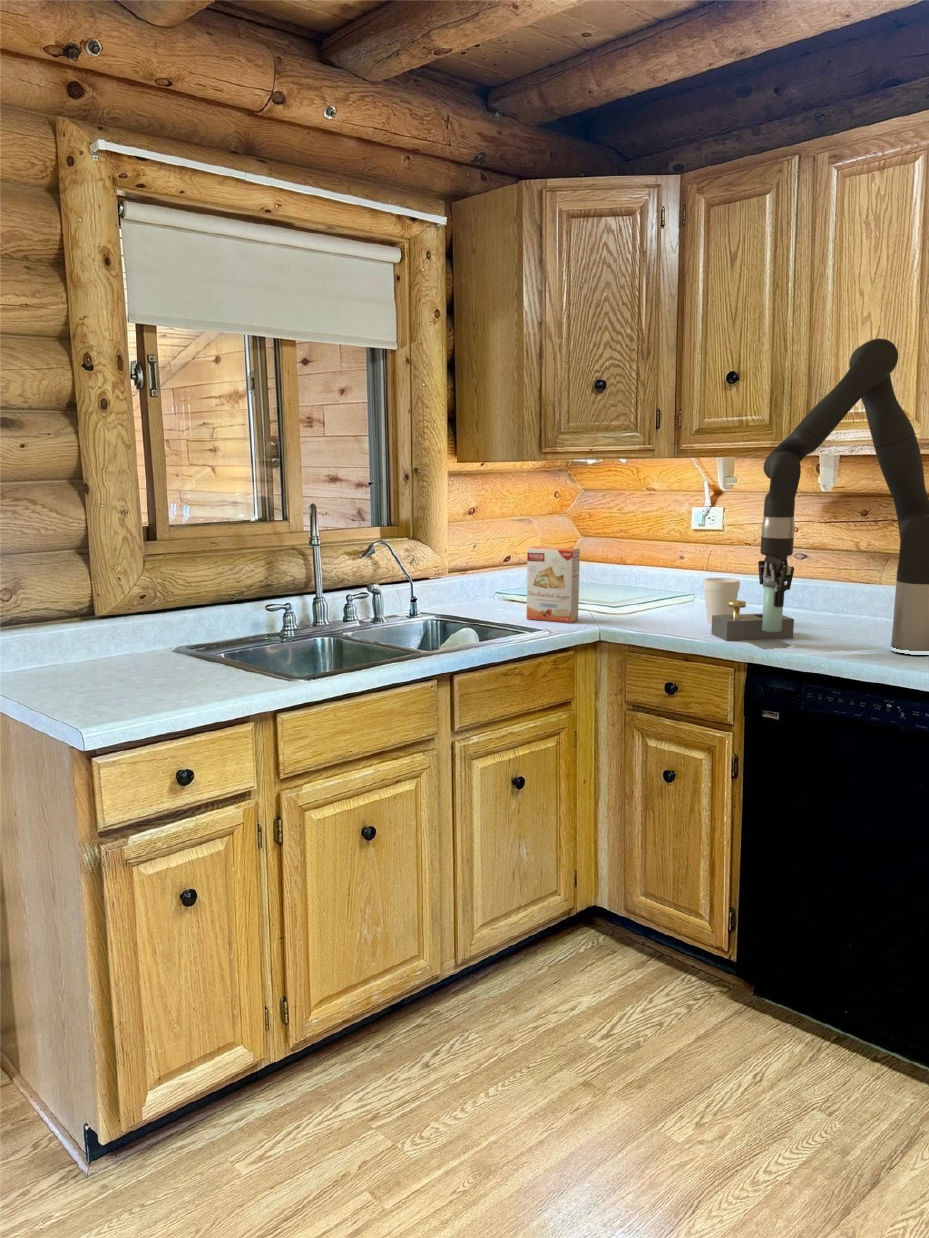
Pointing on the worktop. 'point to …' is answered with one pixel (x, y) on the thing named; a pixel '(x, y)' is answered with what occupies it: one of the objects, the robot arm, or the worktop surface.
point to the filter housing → (748, 628)
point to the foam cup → (720, 595)
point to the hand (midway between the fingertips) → (773, 604)
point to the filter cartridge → (771, 608)
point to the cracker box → (553, 584)
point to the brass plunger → (736, 607)
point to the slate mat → (770, 644)
